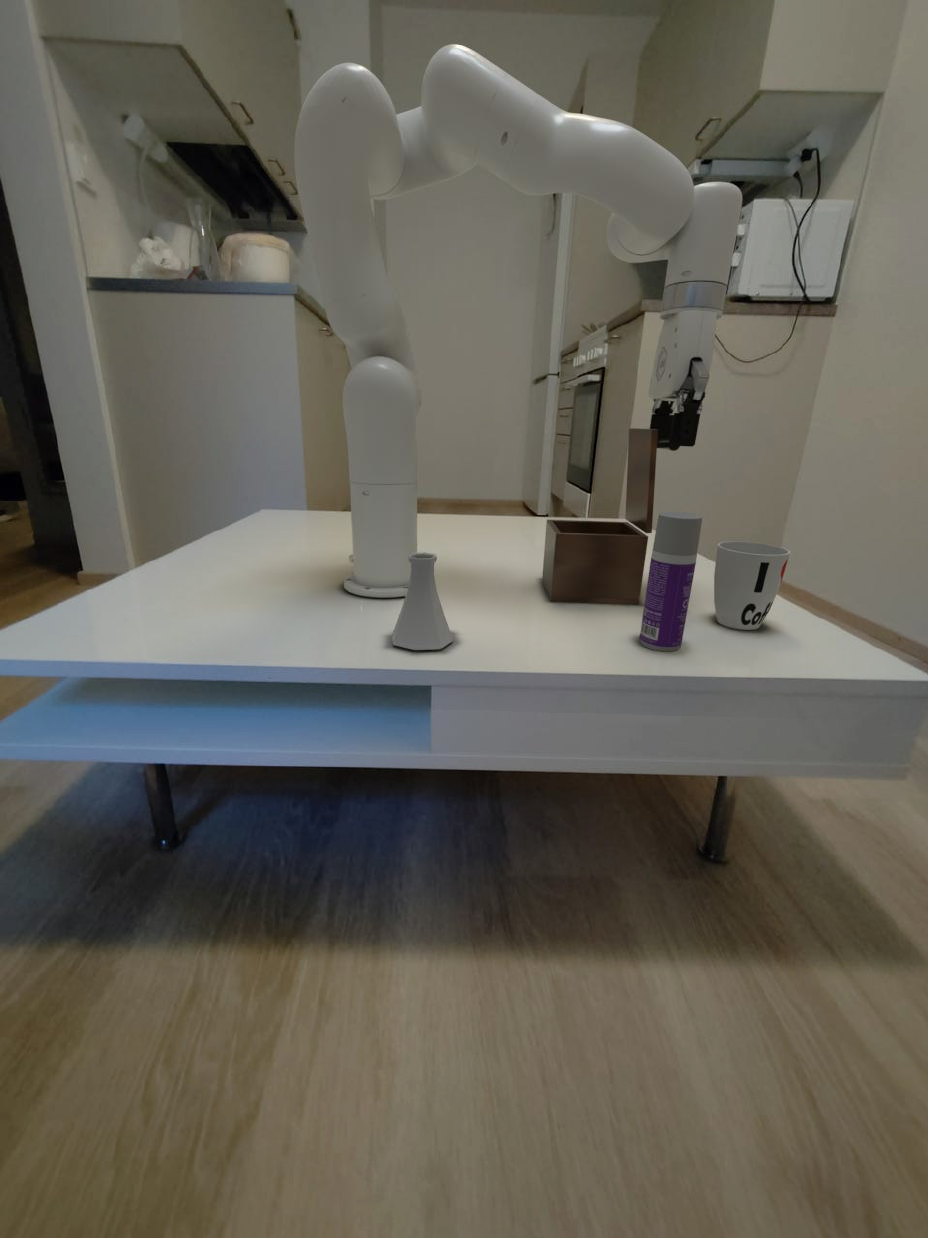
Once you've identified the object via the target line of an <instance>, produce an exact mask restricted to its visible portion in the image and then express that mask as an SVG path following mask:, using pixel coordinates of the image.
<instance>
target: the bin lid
mask: <svg viewBox="0 0 928 1238" xmlns="http://www.w3.org/2000/svg"><path fill="white" fill-rule="evenodd" d="M657 437H658V429H650V428H637V427H636V428H632V427H631V428H628V446H627V469H626V472H627V473H626V493H625V494H626V495H625V517H624V519H625V521H626V522H628V523H629V524H631V525H632V526H634V527H635V528H637V529H638V530H640V531H641V532H643V533H644V534H652V533H653V521H654V502H655V488H656V487H655V484H656V469H657V451H658V449H660V450H663V451H664V450H665V451H671V452H675V451H678V450H679V449H680V447H681V446H671V445H670V444H669V440H670V438H661V439H659V441H657Z"/></svg>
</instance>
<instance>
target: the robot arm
mask: <svg viewBox="0 0 928 1238" xmlns="http://www.w3.org/2000/svg"><path fill="white" fill-rule="evenodd" d="M297 119H298V120H297V122H296V123H297V124H296V128H295V133H294V135H295V136H294V143H293V144H294V146H293V163H294V175H295V182H296V188H297V194H298V199H299V204H300V207H301V212H302V216H303V220H304V224H305V229H306V232H307V238H308V240H309V245H310V246H309V247H310V250H311V256H312V259H313V262H314V267H315V271H316V275H317V279H318V284H319V287H320V290H321V295H322V301H323V305H324V310H325V314H326V319H327V321H328V323H329V327H330V328H331V329H332V331H333V332H334V334H335V335H336V336H337V337H338V339H340V340H341V341H342V342H343V343H344V346H345V350H346V353H347V358H348V361H349V365H350V369H351V370H350V371H349V372H348V374H347V376H346V378H345V381H344V385H343V390H342V398H341V399H342V400H341V401H342V413H343V422H344V428H345V436H346V446H347V459H348V460H347V461H348V478H349V479H348V480H349V493H350V494H349V495H350V496H349V497H350V517H351V538H352V539H351V541H352V542H351V543H352V554H350V555H349V556H348V561H349V563H351V564H353V572H352V573H350V574H348V575H347V576H345V577H344V578H343V588H344V590H346V591H347V592H349V593H351V594H353V595H356V596H361V597H367V598H377V599H378V598H379V599H380V598H382V599H383V598H385V599H386V598H400V597H406V594H407V590H408V586H409V581H410V575H411V563H410V562H409V559H408V555H410V554H413V553H418V459H417V455H418V454H417V451H418V449H417V420H416V419H417V417H418V415H419V413H420V411H421V407H422V391H421V385H420V381H419V376H418V372H417V367H416V363H415V358H414V353H413V349H412V344H411V340H410V339H411V338H410V336H409V331H408V326H407V321H406V318H405V314H404V309H403V307H402V304H401V302H400V299H399V298H398V296H397V294H396V292H395V290H394V288H393V286H392V284H391V282H390V280H389V277H388V273H387V269H386V265H385V262H384V257H383V253H382V250H381V249H382V248H381V245H380V239H379V234H378V228H377V224H376V219H375V215H374V212H373V208H372V202H371V200H374V201H387V200H391V199H395V198H397V197H402V196H404V195H407V194H410V193H414V192H416V191H420V190H423V189H426V188H429V187H432V186H434V185H437V184H441V183H443V182H447V181H449V180H453V179H455V178H457V177H459V176H463V175H464V174H466V173H468V172H469V171H471V170H473V169H474V168H475V167H477V165H478V166H480V167H481V168H483V169H485V170H486V171H487V172H489V173H490V174H492V175H494V176H495V177H497V178H498V179H500V180H501V181H503V182H504V183H506V184H507V185H509V186H511V187H512V188H513V189H515V190H516V191H518V192H520V193H522V194H523V195H525V196H529V197H542V196H548V195H554V194H570V195H575V196H579V197H582V198H585V199H588V200H590V201H592V202H593V203H596V204H598V205H600V206H601V207H603V208H605V209H606V210H608V211H609V212H611V214H610V216H609V219H608V222H607V226H606V231H605V237H606V239H605V240H606V244H607V246H608V249H609V251H610V252H611V254H612V255H613V256H614V257H615V258H617V259H618V260H620V261H621V262H624V263H628V264H640V263H641V264H643V263H648V262H649V263H650V262H656V261H664V260H665V261H666V260H667V267H666V272H665V273H666V274H665V281H664V289H663V294H662V301H661V306H660V307H661V308H660V314H659V319H660V320H662V321H663V323H662V326H661V330H660V334H659V337H658V340H657V346H656V351H655V355H654V361H653V367H652V372H651V377H650V383H649V388H648V397H649V398H650V399H651V400H653V402H654V403H653V406H652V409H651V418H650V422H649V423H650V424H649V429H658V437H657V441H659V439H661V438H670V440H669V444H670V445H671V446H680V447H689V448H690V447H691V448H692V447H694V446H695V445H696V440H697V437H698V436H697V435H698V429H699V424H700V418H701V414H702V412H703V401H704V399H705V398H706V394H707V393H706V391H707V387H708V382H709V379H710V375H711V374H710V373H711V368H712V363H713V361H712V360H713V354H714V348H715V339H716V329H717V320H719V319H721V318H722V317H723V311H724V307H725V302H726V301H725V300H726V295H727V291H728V283H729V278H730V275H731V274H730V273H731V267H732V262H733V257H734V250H735V245H736V240H737V234H738V229H739V225H740V218H741V213H742V207H743V194H742V191H741V189H740V188H739V187H738V186H737V185H735V184H734V183H731V182H726V181H708V182H703V183H700V184H696V185H694V181H693V178H692V176H691V174H690V172H689V170H688V168H687V167H686V166H685V165H684V164H683V163H682V161H681V160H680V159H679V158H678V157H677V156H675V155H674V154H673V153H672V152H670V151H669V150H668V149H666V148H665V147H663V146H662V145H661V144H659V143H657V142H656V141H655V140H653V139H651V138H650V137H649V136H647V134H644V133H643V132H641V131H639V130H638V129H636V128H634V127H633V126H630V125H628V124H626V123H623V122H620V121H617V120H614V119H610V118H609V119H608V118H604V117H599V116H594V115H590V114H585V113H579V112H578V113H576V112H568V111H566V110H564V109H562V108H560V107H558V106H557V105H555V104H554V103H552V102H550V100H548V99H546V98H544V97H543V96H542V95H540V94H539V93H537V92H535V91H534V90H533V89H531V88H530V87H528V86H527V85H525V84H524V83H522V82H521V81H520V80H519V79H516V78H515V77H514V76H512V75H511V74H510V73H508V72H507V71H505V70H503V68H500V67H499V66H498V65H496V64H494V63H493V62H491V61H490V60H488V58H485V57H484V56H483V55H481V54H480V53H478V52H477V51H475V50H474V49H471V48H469V47H467V46H465V45H461V44H457V43H452V44H451V43H450V44H447V45H444V46H442V47H441V48H439V49H438V50H437V51H436V53H434V54H433V55H432V57H431V58H430V60H429V62H428V64H427V66H426V69H425V71H424V74H423V78H422V83H421V91H420V106H418V107H417V106H416V107H415V108H412V109H409V110H407V111H403V112H400V113H396V109H395V106H394V103H393V101H392V99H391V96H390V95H389V93H388V92H387V89H386V88H385V86H384V85H383V83H382V82H381V81H380V79H379V78H378V77H377V76H376V75H375V74H374V73H373V72H371V70H369V69H368V68H366V67H365V66H364V65H361V64H358V63H353V62H343V63H339V64H336V65H334V66H333V67H331V68H330V69H328V70H327V71H325V72H324V73H323V74H322V75H321V76H320V77H319V78H318V80H316V82H315V83H314V85H312V88H311V89H310V90H309V92H308V94H307V96H306V98H305V100H304V102H303V104H302V107H301V109H300V112H299V115H298V118H297ZM675 409H676V411H677V412H674V411H675Z"/></svg>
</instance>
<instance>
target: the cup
mask: <svg viewBox="0 0 928 1238" xmlns="http://www.w3.org/2000/svg"><path fill="white" fill-rule="evenodd" d="M790 555H791V551H790V550H789V549H787V548H784V547H782V546H776V545H774V544H767V543H760V542H753V541H752V542H750V541H722V542H719V543H718V544H717V547H716V555H715V564H714V572H713V573H714V575H713V581H714V582H713V592H714V593H713V603H714V609H715V616H716V622H718V624H720V625H721V626H725V627H727V628H731V629H735V630H745V631H751V630H757V629H759V628H760V627H761V625H762V623H763V622H764V621H765V619H766V617H767V616H768V614H769V612H770V611H771V608H772V606H773V605H774V601H775V599H776V597H777V594H778V592H779V589H780V588H781V584H782V581H783V579H784V576H785V571H786V568H787V565H788V563H789V562H788V561H789V558H790Z"/></svg>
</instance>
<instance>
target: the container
mask: <svg viewBox="0 0 928 1238" xmlns="http://www.w3.org/2000/svg"><path fill="white" fill-rule="evenodd" d="M702 522H703V516H702V515H700V514H695V513H688V512H681V511H680V512H679V511H663V512H659V513H658V517H657V522H656V528H655V534H654V540H653V545H652V551H651V557H650V563H649V569H648V570H649V571H648V576H647V584H646V592H645V597H644V604H643V610H642V611H643V612H642V619H641V624H640V625H641V626H640V631H639V641H638V642H639V643H640V645H642V646H643V647H645V648H647V649H650V650H653V651H659V652H676V651H679V650H681V648H682V644H683V639H684V632H685V628H686V622H687V621H686V620H687V615H688V609H689V604H690V598H691V593H692V588H693V587H692V586H693V582H694V576H695V569H696V565H697V557H698V550H699V543H700V536H701V531H702V524H703V523H702Z"/></svg>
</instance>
